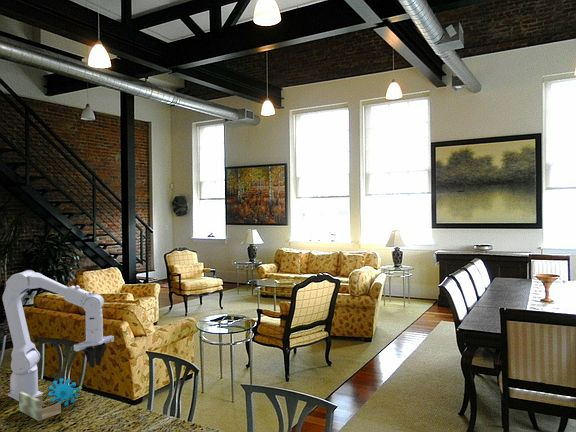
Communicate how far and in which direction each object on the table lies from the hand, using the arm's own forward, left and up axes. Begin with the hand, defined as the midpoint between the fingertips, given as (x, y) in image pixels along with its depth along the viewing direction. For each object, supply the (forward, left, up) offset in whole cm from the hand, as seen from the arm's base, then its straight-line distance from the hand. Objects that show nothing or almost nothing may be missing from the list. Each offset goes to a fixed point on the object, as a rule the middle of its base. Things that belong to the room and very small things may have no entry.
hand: (94, 365), depth 165 cm
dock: (0, -20, -9) cm, 22 cm away
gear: (0, -11, -10) cm, 15 cm away
